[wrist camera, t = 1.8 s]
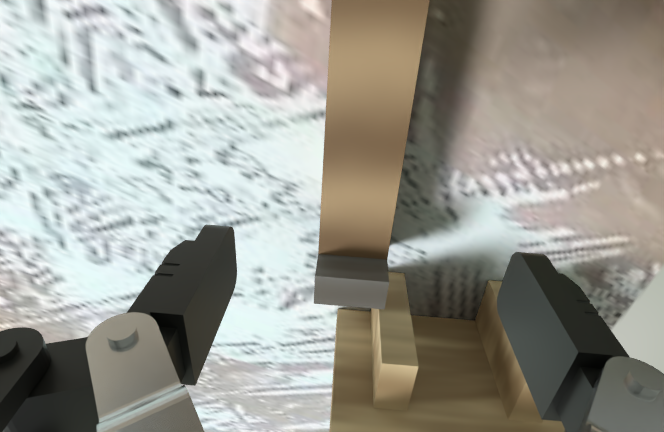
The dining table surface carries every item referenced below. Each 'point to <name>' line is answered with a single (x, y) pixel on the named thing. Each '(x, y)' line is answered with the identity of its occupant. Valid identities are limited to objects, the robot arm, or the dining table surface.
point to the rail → (365, 144)
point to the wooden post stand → (428, 371)
